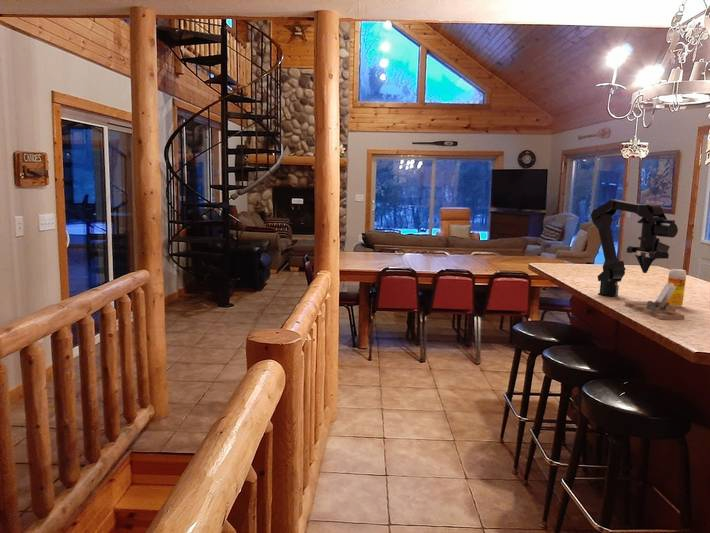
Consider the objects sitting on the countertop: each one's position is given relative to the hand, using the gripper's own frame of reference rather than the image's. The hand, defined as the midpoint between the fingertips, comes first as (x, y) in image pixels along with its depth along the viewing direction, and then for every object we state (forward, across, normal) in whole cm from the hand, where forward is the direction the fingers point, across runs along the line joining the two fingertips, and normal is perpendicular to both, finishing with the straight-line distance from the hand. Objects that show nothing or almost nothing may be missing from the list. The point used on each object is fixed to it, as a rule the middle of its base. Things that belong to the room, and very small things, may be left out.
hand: (644, 272), depth 217 cm
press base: (+13, -13, +4) cm, 19 cm away
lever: (+10, -16, +4) cm, 20 cm away
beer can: (+13, -4, -12) cm, 18 cm away
